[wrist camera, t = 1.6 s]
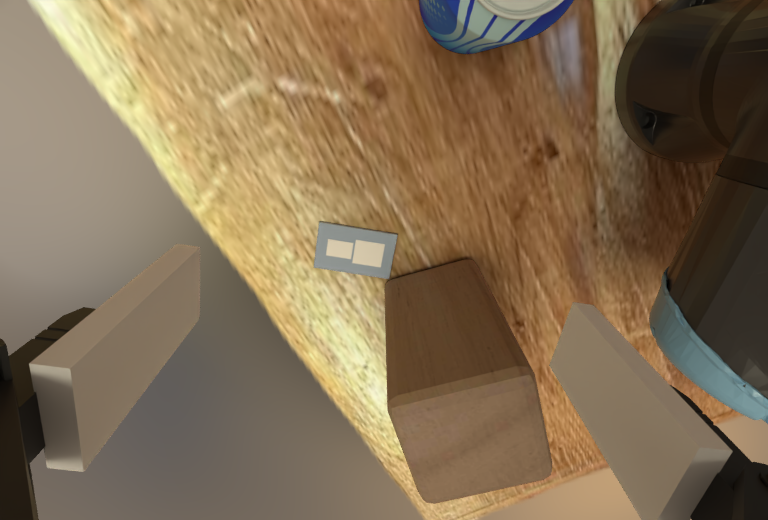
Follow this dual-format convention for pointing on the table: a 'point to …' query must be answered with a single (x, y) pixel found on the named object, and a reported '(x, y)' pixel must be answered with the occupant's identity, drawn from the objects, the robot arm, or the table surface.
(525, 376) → the block
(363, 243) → the card
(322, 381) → the table surface
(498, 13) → the beer can
